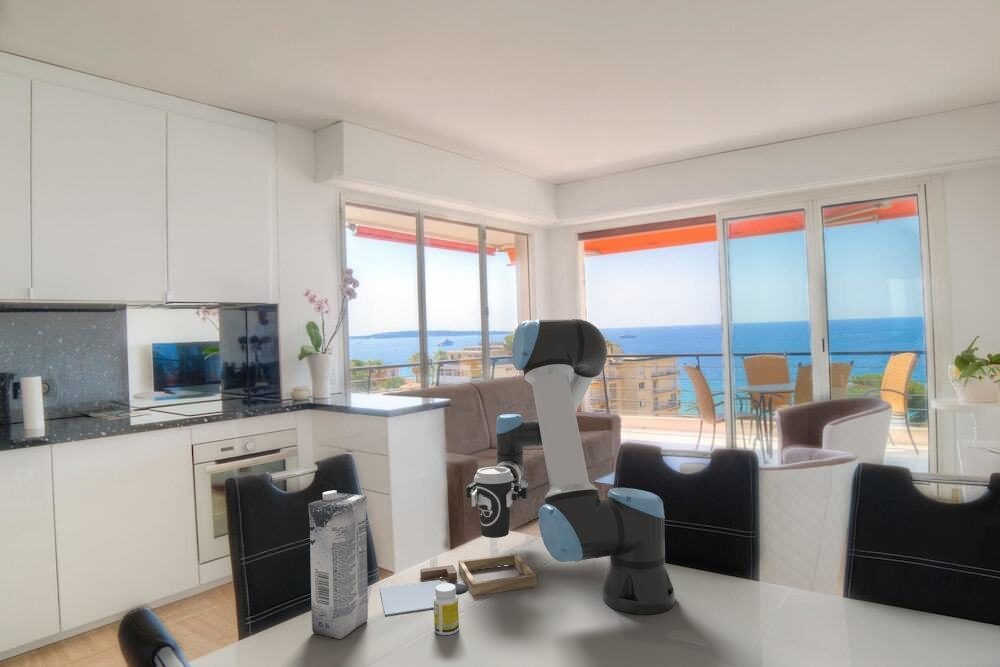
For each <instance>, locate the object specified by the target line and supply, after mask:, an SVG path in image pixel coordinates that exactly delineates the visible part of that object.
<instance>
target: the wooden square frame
mask: <svg viewBox="0 0 1000 667" xmlns="http://www.w3.org/2000/svg"><path fill="white" fill-rule="evenodd" d="M504 565H512V566H514V565H515V566H516V567H517V568H516V567H515V566H514V567H515V568H516V569H517V571H518V572H519V571H520V572H521V573H520V572H519V573H520V574H521V575H517V576H511V577H510V576H509V577H503V578H497V579H489V580H483V581H476V580H475V578H474V577H473V575H472V573H471V571H469V570H475V571H478V570H477V569H482V570H485V569H484V568H490V569H493V568H492V567H497V568H499V567H498V566H504ZM458 573H459V574H460V573H461V574H460V576H461V575H462V576H461V578H462V577H463V578H462V580H463V581H464V583H465V585H466V586H467V587H468V591H469V592H470V594H471V595H472V597H473V596H480V595H488V594H494V593H502V592H509V591H516V590H521V589H529V588H535V587H537V574H535V572H534V571H533V570H532V569H531V568H530V567H529V565H528V564H526V562H525V561H524V560H523V558H522V557H520V555H519V554H518V553H510V554H509V553H508V554H502V555H494V556H488V557H487V556H485V557H478V558H472V559H471V558H469V559H463V560H458Z"/></svg>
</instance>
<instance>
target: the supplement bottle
mask: <svg viewBox="0 0 1000 667" xmlns="http://www.w3.org/2000/svg"><path fill="white" fill-rule="evenodd" d="M435 594H436V596H435V598H434V609H433V618H434V631H435V633H436V634H438V635H441V636H449V635H453V634H455V633H457V632H458V631H459V629H460V626H459V625H460V621H459V617H460V616H459V598H458V594H456V587H455V585H454V584H453V583H451V582H447V583H445V582H444V583H442V584H440V585H438V586H436V588H435Z"/></svg>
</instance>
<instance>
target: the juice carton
mask: <svg viewBox="0 0 1000 667" xmlns="http://www.w3.org/2000/svg"><path fill="white" fill-rule="evenodd" d="M337 491H338V490H328V491H324V492H322V499H320V500H315V501H313V502H312V501H311V502H310V503H309V502H308V504H307V507H308V517H309V543H310V544H309V546H310V548H309V551H310V556H309V557H310V590H311V591H310V596H311V601H310V602H311V629H312V630H311V631H312V633H313V634H315V635H321V636H326V637H330V638H333V637H334V638H333V639H337V640H338V639H339V640H341V639H344V638H345V637H346V636H347V635H349V634H351V633H352V632H353V631H354V630H356V629H357V628H359V627H360V626H361V625H363V624H365V622H367V621H368V619H369V618H368V617H369V600H368V599H369V598H368V596H369V595H368V594H369V592H368V590H369V589H368V587H369V586H368V555H367V554H368V549H367V548H368V547H367V544H368V543H367V499H368V498H367V495H363V494H362V495H361V494H354V493H353V494H352V493H344V492H342V493H341V492H337Z"/></svg>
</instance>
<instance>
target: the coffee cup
mask: <svg viewBox="0 0 1000 667" xmlns="http://www.w3.org/2000/svg"><path fill="white" fill-rule="evenodd" d="M512 480H514V477H513V474H512V473H511V471H510V469H509V468H505V467H496V466H488V467H487V466H486V467H482V468H478V469H477V470H476V474H475V475H474V478H473V482H474V481H475V482H476V487H477V494H478V503H477V506H478V514H479V521H480V523H479V524H480V531H481V532H480V534H481V535H482V536H483V537H485V538H488V539H489V538H490V539H494V538H495V539H496V538H497V539H499V538H503V537H506V536H508V535H509V534H510V516H511V506H510V507H507V499H506V495H507V493H508V492H509V491H511V487H512Z"/></svg>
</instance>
